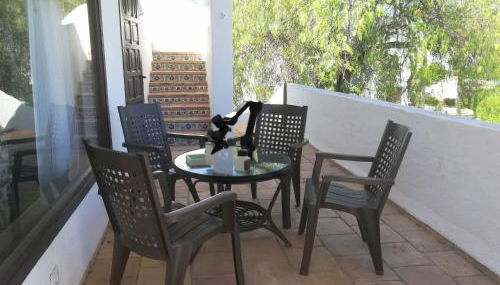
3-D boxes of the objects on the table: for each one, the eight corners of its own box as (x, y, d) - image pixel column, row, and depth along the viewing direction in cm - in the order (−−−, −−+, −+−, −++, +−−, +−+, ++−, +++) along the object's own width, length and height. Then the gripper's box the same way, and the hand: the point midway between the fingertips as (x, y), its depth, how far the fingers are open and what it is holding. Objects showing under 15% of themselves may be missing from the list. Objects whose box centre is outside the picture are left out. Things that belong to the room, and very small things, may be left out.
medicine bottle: (244, 172, 227) (244, 151, 225) (234, 170, 231) (234, 150, 228) (250, 169, 233) (250, 149, 231) (240, 167, 237) (240, 148, 234)
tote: (185, 161, 250) (185, 154, 249) (204, 160, 254) (204, 153, 254) (190, 167, 237) (190, 159, 236) (210, 165, 241) (210, 158, 240)
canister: (215, 163, 235) (215, 142, 232) (212, 165, 230) (212, 144, 227) (207, 162, 236) (207, 141, 233) (204, 165, 231) (203, 143, 228)
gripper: (204, 123, 237) (190, 143, 231) (225, 126, 225) (211, 148, 219) (214, 134, 244) (200, 154, 239) (235, 138, 232) (221, 159, 226)
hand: (208, 153), depth 230 cm, fingers closed on canister, 5 cm apart
